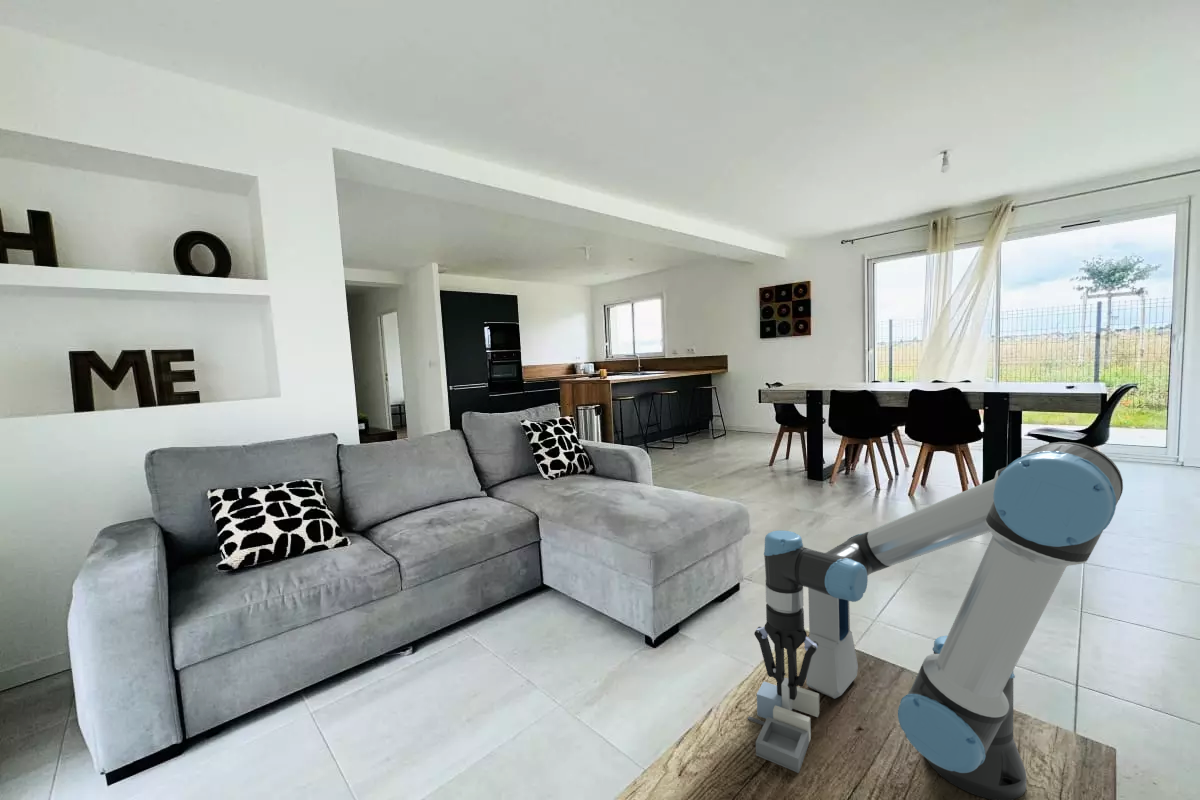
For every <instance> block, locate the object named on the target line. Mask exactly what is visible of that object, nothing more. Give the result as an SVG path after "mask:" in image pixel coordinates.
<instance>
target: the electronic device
mask: <svg viewBox="0 0 1200 800" xmlns="http://www.w3.org/2000/svg"><path fill="white" fill-rule="evenodd" d="M807 589H808V590H807V591H808V623H809V625H808V628H809V634H808V636H807V637H808V638H809V639H810V640H811V641H812V642H813V641H816V642H817V643H818V647H817V650H816V652H815V653H814V654H813V655H812V658H811V662H810V666H809V669H808V673H807V677H806V680H805V682H806V686H807V687H808V688H811V689H812V690H814V691H817V693H818V692H819V693H821V694H823V695H825V696H827V697H830V698H832V699H837V698H839V697H841V696H842V695H843V694H844V692H846V690H847V689H848V688H849V686H851V684H852V682H854V680H855V679H856V678H857V675H858V670H859V664H858V659H857V654H856V648H855V642H854V636H853V632H852V631H851V623H850V620H851V619H850V617H851V616H850V615H851V614H850V610H851V609H850V601H848V600H844V599H838V598H835V597H832V596H830V595H827V594H825V593H822V592H819V591H816V590H813V589H810V588H808V587H807Z"/></svg>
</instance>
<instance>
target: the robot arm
mask: <svg viewBox="0 0 1200 800" xmlns="http://www.w3.org/2000/svg"><path fill="white" fill-rule="evenodd" d="M1123 490H1124V481H1123V477H1122V474H1121V471H1120V470H1119V468H1118V466H1117V465H1116V463H1115V462H1114V461H1113V460H1112V459H1110V457H1109V456H1107V455H1106V454H1105V453H1102V452H1101V451H1100V450H1098V449H1096V448H1094V447H1091V446H1089V445H1087V444H1083V443H1077V442H1070V441H1069V442H1067V441H1058V442H1050V443H1047V444H1043V445H1040V446H1038V447H1036V448H1034V449H1032V450H1031V451H1029V452H1028V453H1026V454H1025V455H1022V456H1020V457H1017V458H1016V459H1015V460H1013V461H1012V462H1011V463H1009V464H1008V465H1007V466H1005V467H1002V468H1000V469H998V470H996V472H995V475H994V478H993V479H991V480H988V481H985V482H983V483H981V484H978V485H976V486H974V487H971V488H969V489H966V490H964V491H962V492H959V493H957V494H954V495H952V496H950V497H947V498H945V499H942V500H940V501H938V502H935V503H933V504H930V505H928V506H926V507H923V508H920V509H918V510H916V511H913V512H912V513H909V514H906V515H904V516H902V517H900V518H896V519H895V520H892V521H890V522H888V523H885V524H883V525H880V526H878V527H876V528H875V527H874V528H873V529H871V530H869V531H866V532H863V533H860V534H855V535H853V536H851V537H849V538H847V540H845V541H844V542H842V543H840V544H839V545H837V546H835V547H833V548H832V549H830V550H828V551H826V552H824V551H823V552H822V551H819V550H818V551H817V550H814V549H812V548H811V549H810V548H807V547H804V543H803V538H802V536H801V535H800V534H798V533H796V532H795V531H789V530H773V531H770V532H768V533H766V535H765V537H764V551H763V555H764V568H765V602H766V605H765V606H766V607H765V613H766V614H765V615H766V619H765V620H766V622H765V624H764V626H758V627H757V628H756V630H755V631H754V636H755V638H756V639H757V642H759V647H760V652H761V653H762V655H761V656H762V659H763V662H764V666H765V669H766V673H767V676H768V677H770V678H774V679H775V681H776V686H777V693H778V695H780V696H782V708H785V709H788V710H790V711H793V709H792V708H793V704H792V700H795V698H796V696H797V687H800V688H803V686H804V684H805V682H806V677H807V673H808V669H809V666H810V662H811V658H812V655H813V654H814V653H815V652H816V650H817V647H818V643H817V642H816V641H813V642H812V641H811V640H810V639H809V638H808V637H809V636H808V634H807V631H806V630H805V610H804V587H805V588H807V589H808V588H810V589H813V590H816V591H819V592H822V593H825V594H827V595H830V596H832V597H835V598H838V599H844V600H848V601H849V602H852V603H855V602H858V601H861V599H863V597H864V594H865V593H866V590H867V586H868V582H869V581H868V580H869V579H868V578H869V577H868V576H869V575H870V574H873V573H875V572H878V571H881V570H884V569H887V568H890V567H892V566H894V565H898V564H901V563H904V562H906V561H910V560H912V559H916V558H918V557H921V556H924V555H926V554H929V553H933V552H936V551H937V550H941V549H945V548H947V547H950V546H952V545H956V544H959V543H962V542H964V541H968V540H970V539H973V538H976V537H979V536H983V535H985V534H988V533H991V534H992V537H991V538H990V541H989V543H988V544H987V547H986V550H985V552H984V554H983V555H982V558H981V561H980V563H979V565H978V567H977V569H976V572H975V574H974V576H973V578H972V580H971V583H970V586H969V587H968V590H967V591H966V594H965V597H964V599H963V601H962V604H961V605H960V608H959V610H958V613H957V615H956V617H955V619H954V621H953V623H952V625H951V627H950V629H949V632H948V635H941V636H939V637H936V638H935V640H934V642H933V647H932V651H933V654H929V655H926V657H925V658H924V660H923V662H922V664H921V666H920V669H919V670H918V673H917V676H916V677H915V679H914V682H913V683H912V686H911V688H910V689H909V691H908V693H907V694H905V695H904V696H902V698H901V699H900V702H899V705H898V707H897V708H898V709H897V718H898V723H899V727H900V729H901V730H902V731H903V733H904V735H905V737H906V739H907V740H908V741H909V743H910V744H911V745H912V746H913V747H914V749H915V750H916V751H917V752H918V753H920V755H921V756H923V757H924V758H925V759H926V760H927V762H928V763H929V766H931V767H932V768H933V770H934V771H935V772H936V773H937V774H939V776H941V777H942V778H943V779H944V780H945V781H947V782H949V783H950V784H952V785H953V786H955V787H957V788H959V789H961V790H963V791H965V792H967V793H970V794H972V795H974V796H976V797H980V798H982V799H983V798H984V799H987V800H1017V799H1019V798H1020V797H1022V796H1023V795H1024V794H1025V792H1026V790H1027V772H1026V769H1025V768H1026V767H1025V766H1024V762H1023V760H1022V757H1021V756H1020V752H1019V750H1018V747H1017V745H1016V742H1015V740H1014V679H1015V678H1016V675H1015V673H1014V669H1015V667H1016V666H1017V664H1018V662H1019V660H1020V658H1021V656H1022V655H1023V652H1024V651H1025V648H1026V647H1027V644H1028V643H1029V641H1030V639H1031V637H1032V635H1033V633H1034V631H1035V629H1036V627H1037V625H1038V623H1039V621H1040V619H1041V617H1042V615H1043V613H1044V611H1045V610H1046V607H1047V606H1048V604H1049V601H1050V600H1051V597H1052V596H1053V594H1054V592H1055V590H1056V588H1057V586H1058V585H1059V582H1060V580H1061V578H1062V577H1063V574H1064V572H1065V571H1066V568H1067V567H1069V566H1076V565H1082V564H1085V563H1087V562H1088V560H1089V559H1090V556H1091V554H1092V552H1093V551H1094V549H1095V547H1096V545H1097V543H1098V541H1099V539H1100V537H1101V536H1102V533H1104V532H1103V531H1104V530H1105V529H1106V528H1108V526H1109V525H1110V524H1111V521H1112V519H1113V518H1114V515H1115V512H1116V508H1117V504H1118V503H1119V501H1120V499H1121V497H1122V494H1123ZM768 637H769V638H770V640H771V641H772V643H773V644H774V647H773V648H774V654H775V655H773V652H772V647H771V644H770V642H769V641H770V640H769V638H768ZM802 644H804V651H805V652H804V654H803V658H802V662H801V663H802V664H801V667H800V671H799V674H798V664H797V662H798V661H797V659H798V658H797V650H798V648H799V647H801V645H802ZM785 650H786V655H787V672H788V673H787V677H785V676H786V671H785ZM774 656H775V657H774ZM774 658H775V659H774Z"/></svg>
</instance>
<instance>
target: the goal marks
mask: <svg viewBox="0 0 1200 800" xmlns="http://www.w3.org/2000/svg"><path fill="white" fill-rule="evenodd" d="M747 721H750V722H754V723H755V724H759V725H760V726H763V725H764V723H765V721H763V720H760V719H758V718H755V717H753V716H749V715H748V717H747Z"/></svg>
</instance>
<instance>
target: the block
mask: <svg viewBox="0 0 1200 800" xmlns="http://www.w3.org/2000/svg"><path fill="white" fill-rule="evenodd" d="M775 705H776V706H779V707H782V696H780V695H778V693H777V684H772V683H770V682H767V681H763V682H762V683H761V686H760V687H759V689H758V690H757V693H756V710H757V711H756V713H757V717H760V718H763V719H765V720H766V719H767V717H770V718H772V719H773V708H774V706H775Z"/></svg>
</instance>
